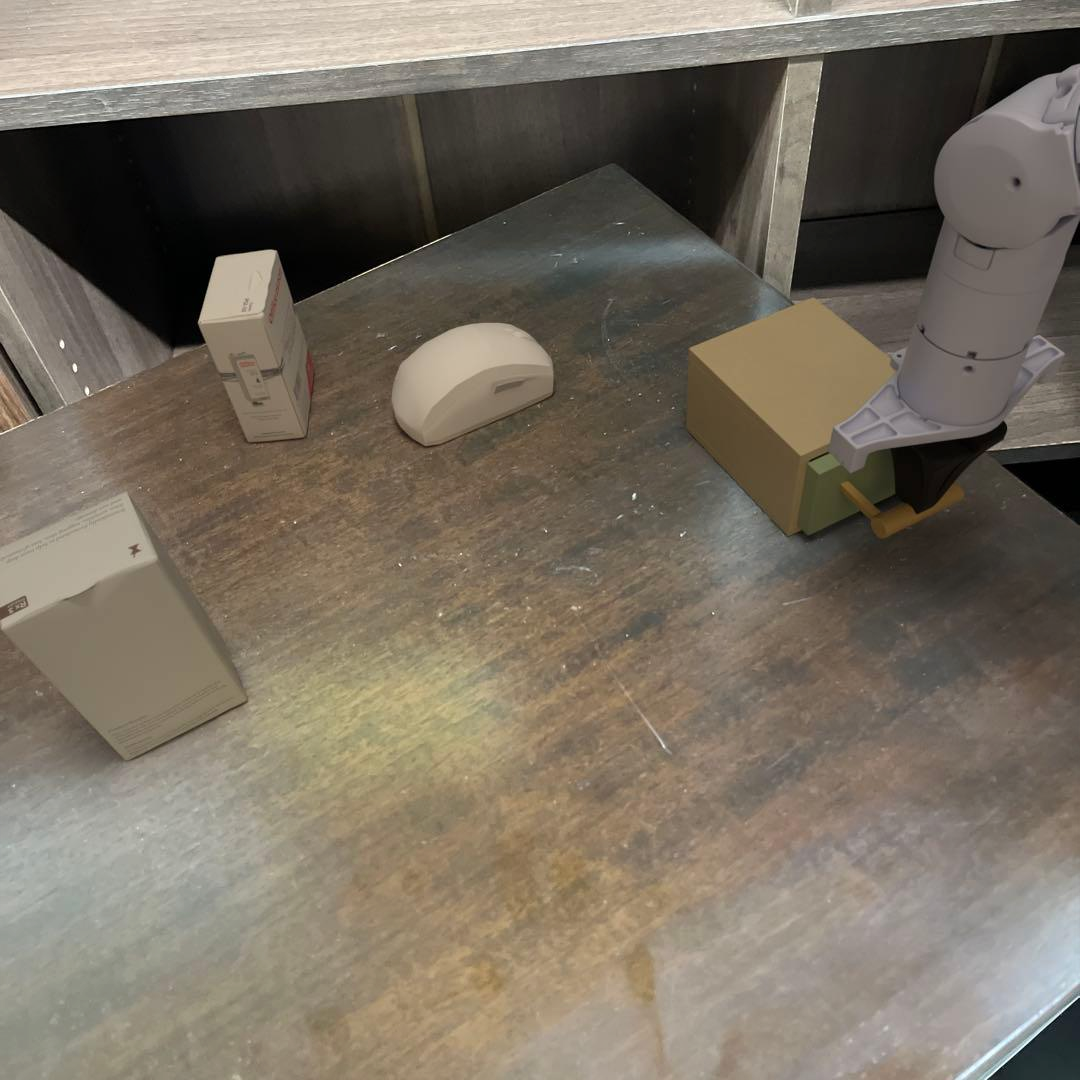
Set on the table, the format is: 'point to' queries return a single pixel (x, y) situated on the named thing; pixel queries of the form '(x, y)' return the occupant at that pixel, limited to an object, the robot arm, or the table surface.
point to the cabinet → (779, 398)
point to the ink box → (258, 345)
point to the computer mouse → (469, 381)
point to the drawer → (859, 495)
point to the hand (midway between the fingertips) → (913, 500)
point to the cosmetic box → (116, 627)
